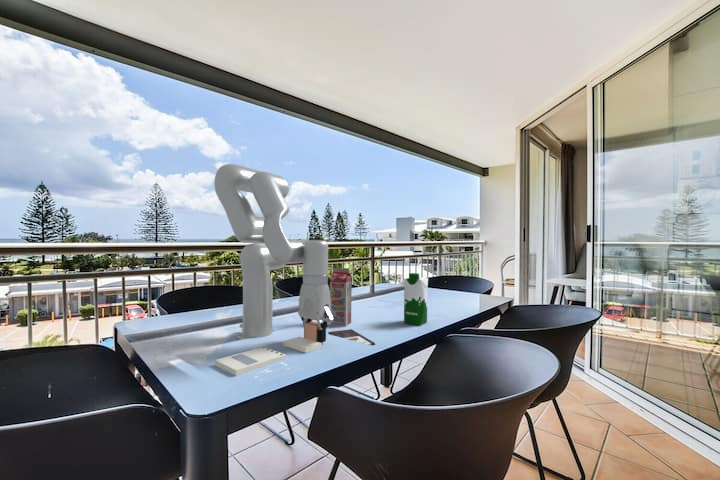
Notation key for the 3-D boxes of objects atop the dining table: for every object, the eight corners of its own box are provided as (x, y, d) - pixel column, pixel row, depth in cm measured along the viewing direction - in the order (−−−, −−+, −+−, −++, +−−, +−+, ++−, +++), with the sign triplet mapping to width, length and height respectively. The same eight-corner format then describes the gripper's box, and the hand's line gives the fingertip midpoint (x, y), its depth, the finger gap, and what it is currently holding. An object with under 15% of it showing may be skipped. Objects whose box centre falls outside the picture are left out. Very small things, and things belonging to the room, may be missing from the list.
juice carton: (335, 321, 134) (336, 267, 134) (351, 322, 132) (351, 267, 132) (329, 325, 128) (330, 268, 128) (345, 326, 126) (346, 269, 126)
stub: (283, 345, 98) (283, 325, 98) (306, 338, 105) (306, 320, 105) (305, 353, 92) (306, 331, 92) (329, 345, 98) (329, 325, 99)
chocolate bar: (351, 329, 121) (375, 343, 104) (351, 331, 121) (374, 346, 104) (328, 331, 117) (348, 346, 100) (328, 334, 117) (348, 349, 100)
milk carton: (401, 323, 132) (401, 273, 132) (410, 319, 140) (410, 271, 140) (421, 326, 127) (422, 274, 127) (430, 322, 135) (430, 273, 135)
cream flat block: (215, 366, 82) (215, 359, 82) (263, 352, 93) (263, 346, 93) (236, 376, 76) (236, 369, 76) (286, 360, 86) (286, 354, 86)
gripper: (288, 279, 104) (287, 337, 103) (326, 284, 93) (325, 349, 92) (306, 277, 109) (306, 332, 109) (344, 282, 98) (343, 343, 98)
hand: (314, 339), depth 101 cm, fingers closed on stub, 5 cm apart
